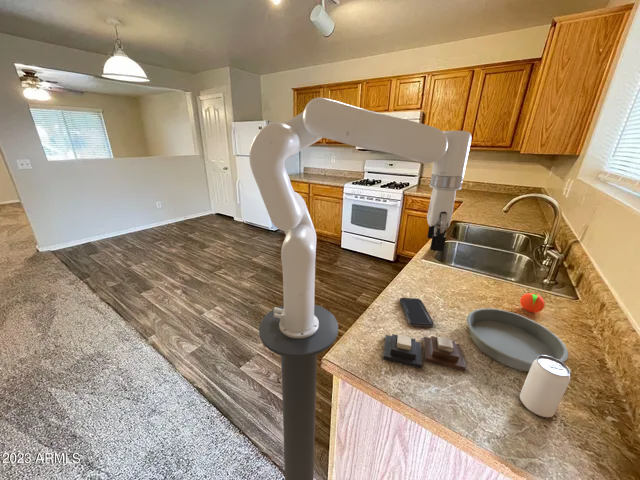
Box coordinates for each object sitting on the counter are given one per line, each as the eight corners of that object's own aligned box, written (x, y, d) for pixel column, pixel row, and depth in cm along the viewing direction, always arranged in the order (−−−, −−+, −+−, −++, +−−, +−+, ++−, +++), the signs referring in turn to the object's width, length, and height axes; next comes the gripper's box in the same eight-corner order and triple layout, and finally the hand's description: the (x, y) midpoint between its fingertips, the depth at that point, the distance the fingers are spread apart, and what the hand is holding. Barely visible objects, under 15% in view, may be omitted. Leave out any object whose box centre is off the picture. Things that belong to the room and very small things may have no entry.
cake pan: (582, 390, 65) (589, 376, 64) (472, 363, 72) (475, 350, 71) (540, 328, 87) (544, 316, 86) (458, 312, 94) (461, 301, 93)
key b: (437, 349, 73) (439, 344, 73) (436, 341, 76) (437, 336, 76) (452, 352, 72) (453, 347, 72) (450, 344, 75) (451, 339, 75)
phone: (420, 298, 100) (434, 324, 86) (419, 301, 100) (433, 327, 86) (399, 297, 100) (409, 322, 86) (398, 300, 100) (409, 325, 86)
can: (513, 391, 64) (528, 352, 60) (541, 394, 64) (558, 355, 60) (530, 416, 58) (547, 375, 54) (561, 420, 58) (582, 379, 54)
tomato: (541, 320, 91) (548, 303, 89) (517, 312, 95) (523, 295, 92) (541, 309, 97) (547, 293, 95) (518, 303, 101) (523, 286, 98)
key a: (396, 347, 73) (397, 342, 73) (397, 339, 77) (397, 334, 76) (410, 351, 72) (411, 345, 72) (410, 342, 76) (410, 337, 75)
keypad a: (383, 359, 73) (384, 350, 72) (385, 337, 81) (386, 329, 80) (421, 368, 70) (423, 360, 69) (419, 345, 78) (421, 337, 77)
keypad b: (424, 361, 73) (426, 352, 71) (423, 339, 81) (424, 331, 80) (464, 370, 70) (467, 362, 69) (458, 347, 78) (460, 339, 77)
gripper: (427, 177, 77) (419, 233, 83) (433, 186, 61) (422, 253, 67) (456, 179, 75) (444, 235, 81) (469, 188, 59) (454, 257, 65)
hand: (434, 244), depth 74 cm, fingers open, 9 cm apart
